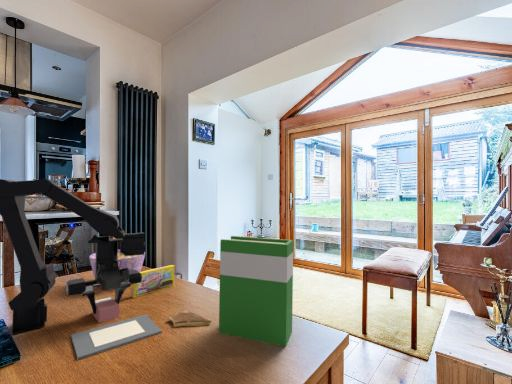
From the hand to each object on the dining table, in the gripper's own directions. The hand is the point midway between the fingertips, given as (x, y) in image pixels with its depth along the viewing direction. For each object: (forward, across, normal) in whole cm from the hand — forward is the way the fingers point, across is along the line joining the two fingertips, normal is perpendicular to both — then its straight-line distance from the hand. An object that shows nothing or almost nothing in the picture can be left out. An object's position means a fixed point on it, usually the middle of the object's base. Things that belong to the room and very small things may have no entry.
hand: (105, 310), depth 77 cm
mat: (+1, 0, -14) cm, 14 cm away
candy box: (+2, +18, +11) cm, 21 cm away
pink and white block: (+1, 0, 0) cm, 1 cm away
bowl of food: (+1, +10, +29) cm, 31 cm away
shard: (+2, +18, -18) cm, 26 cm away
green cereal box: (+2, +28, -35) cm, 45 cm away
